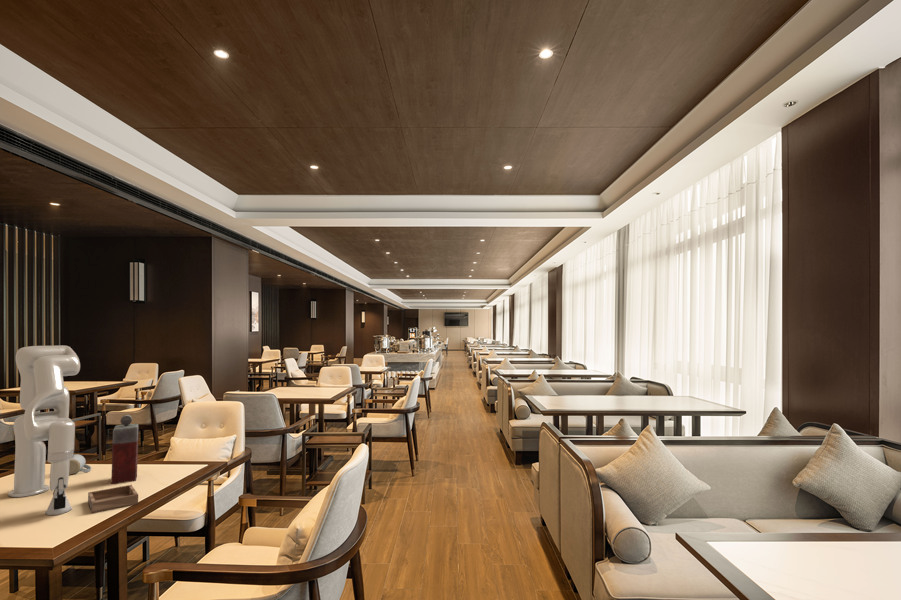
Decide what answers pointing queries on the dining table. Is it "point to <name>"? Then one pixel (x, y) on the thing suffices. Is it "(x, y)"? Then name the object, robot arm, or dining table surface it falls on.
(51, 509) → the flask
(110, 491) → the box
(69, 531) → the dining table surface
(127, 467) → the red decanter
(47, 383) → the robot arm
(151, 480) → the dining table surface
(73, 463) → the ceramic mug
